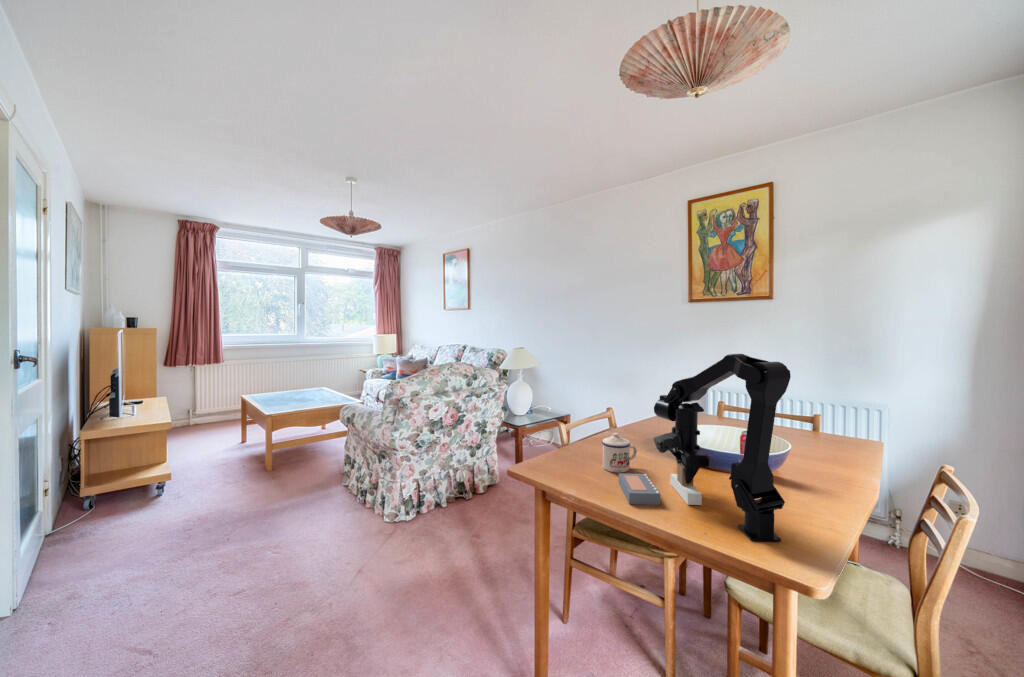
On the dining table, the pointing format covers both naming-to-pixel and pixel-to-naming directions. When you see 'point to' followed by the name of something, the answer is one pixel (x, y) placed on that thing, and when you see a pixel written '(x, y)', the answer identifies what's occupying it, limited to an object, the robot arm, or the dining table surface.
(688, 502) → the stub
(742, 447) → the soda can
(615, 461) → the teacup with lid
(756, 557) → the dining table surface
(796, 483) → the dining table surface
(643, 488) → the grey flat block
